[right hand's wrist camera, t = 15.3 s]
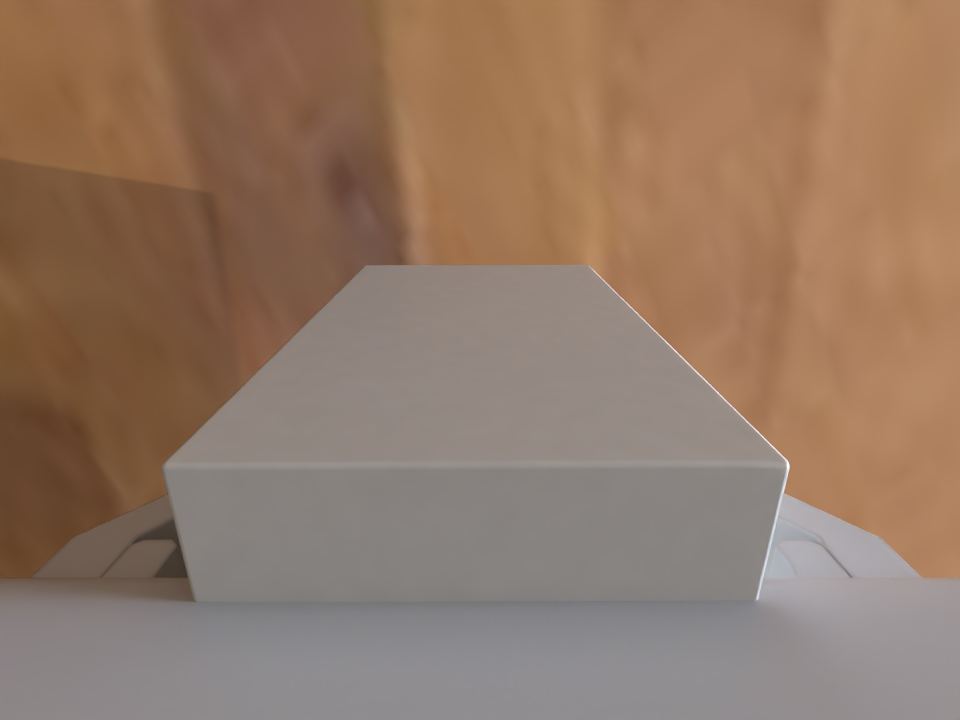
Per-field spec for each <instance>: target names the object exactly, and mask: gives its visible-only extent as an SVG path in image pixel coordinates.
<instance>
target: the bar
mask: <svg viewBox="0 0 960 720" xmlns="http://www.w3.org/2000/svg"><path fill="white" fill-rule="evenodd" d="M788 471H789V463H788V461H787V460H786V459H785V458H784V457H783V456H782V455H781V454H780V453H779V452H778V451H777V450H776V449H775V448H774V447H773V446H772V445H771V444H770V443H769V442H768V441H767V440H766V439H765V438H764V437H763V436H762V435H761V434H760V433H759V432H758V431H757V430H756V429H755V428H754V427H753V426H752V425H751V424H750V423H749V422H748V421H747V420H746V419H745V418H743V417H742V416H741V415H740V414H739V413H738V412H737V411H736V410H735V409H734V408H733V407H732V406H731V405H730V404H729V403H728V402H727V401H726V400H725V399H724V398H723V397H722V396H721V395H720V394H719V393H718V392H717V391H716V390H715V389H714V388H713V387H712V386H711V385H710V384H709V383H708V382H707V381H706V380H705V379H704V378H703V377H702V376H701V375H700V374H699V373H698V372H697V371H696V370H695V369H694V368H693V367H692V366H690V365H689V364H688V363H687V362H686V361H685V360H684V359H683V358H682V357H681V356H680V355H679V354H678V353H677V352H676V351H675V350H674V349H673V348H672V347H671V346H670V345H669V344H668V343H667V342H666V341H665V340H664V339H663V338H662V337H661V336H660V335H659V334H658V333H657V332H656V331H655V330H654V329H653V328H652V327H651V326H650V325H649V324H648V323H647V322H646V321H645V320H644V319H643V318H642V317H641V316H640V315H639V314H638V313H636V312H635V311H634V310H633V309H632V308H631V307H630V306H629V305H628V304H627V303H626V302H625V301H624V300H623V299H622V298H621V297H620V296H619V295H618V294H617V293H616V292H615V291H614V290H613V289H612V288H611V287H610V286H609V285H608V284H607V283H606V282H605V281H604V280H603V279H602V278H601V277H600V276H599V275H598V274H597V273H596V272H595V271H594V270H593V269H592V268H591V267H590V266H588V265H366V266H364V267H363V268H362V269H361V270H360V271H359V272H358V273H357V274H356V275H355V276H354V277H353V278H352V279H351V280H350V281H349V282H348V283H347V284H346V285H345V286H344V287H343V288H342V289H341V290H340V291H339V292H338V293H337V294H336V295H335V296H334V297H333V298H332V299H331V300H330V301H329V302H328V303H327V304H326V305H325V306H324V307H323V308H322V309H320V310H319V311H318V312H317V313H316V314H315V315H314V316H313V317H312V318H311V319H310V320H309V321H308V322H307V323H306V324H305V325H304V326H303V327H302V328H301V329H300V330H299V331H298V332H297V333H296V334H295V335H294V336H293V337H292V338H291V339H290V340H289V341H288V342H287V343H286V344H285V345H284V346H283V347H282V348H281V349H280V350H279V351H278V352H277V353H275V354H274V355H273V356H272V357H271V358H270V359H269V360H268V361H267V362H266V363H265V364H264V365H263V366H262V367H261V368H260V369H259V370H258V371H257V372H256V373H255V374H254V375H253V376H252V377H251V378H250V379H249V380H248V381H247V382H246V383H245V384H244V385H243V386H242V387H241V388H240V389H239V390H238V391H237V392H236V393H235V394H234V395H233V396H232V397H230V398H229V399H228V400H227V401H226V402H225V403H224V404H223V405H222V406H221V407H220V408H219V409H218V410H217V411H216V412H215V413H214V414H213V415H212V416H211V417H210V418H209V419H208V420H207V421H206V422H205V423H204V424H203V425H202V426H201V427H200V428H199V429H198V430H197V431H196V432H195V433H194V434H193V435H192V436H191V437H190V438H189V439H188V440H186V441H185V442H184V443H183V444H182V445H181V446H180V447H179V448H178V449H177V450H176V451H175V452H174V453H173V454H172V455H171V456H170V457H169V458H168V459H167V460H166V461H165V462H164V463H163V465H162V474H163V478H164V482H165V486H166V490H167V494H168V498H169V502H170V506H171V510H172V514H173V518H174V522H175V526H176V530H177V534H178V538H179V542H180V546H181V550H182V554H183V558H184V562H185V567H186V571H187V575H188V579H189V583H190V587H191V591H192V595H193V599H194V601H195V602H454V601H755V600H758V598H759V594H760V589H761V585H762V581H763V577H764V573H765V568H766V564H767V560H768V556H769V552H770V547H771V543H772V539H773V535H774V530H775V526H776V522H777V518H778V514H779V509H780V505H781V501H782V497H783V493H784V488H785V484H786V480H787V476H788Z"/></svg>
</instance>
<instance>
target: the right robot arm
mask: <svg viewBox="0 0 960 720" xmlns="http://www.w3.org/2000/svg"><path fill="white" fill-rule="evenodd" d="M0 720H960V578H922V577H921V576H920V575H919V574H918V573H917V572H916V571H915V570H914V569H913V568H912V567H911V566H909V565H908V564H907V563H906V562H905V561H904V560H903V559H902V558H901V557H900V556H899V555H898V554H897V553H896V552H895V551H894V550H893V549H892V548H891V547H890V546H889V545H888V544H887V543H886V542H885V541H884V540H882V539H881V538H880V537H877V536H875V535H873V534H871V533H869V532H867V531H864V530H862V529H860V528H858V527H856V526H854V525H852V524H849V523H847V522H845V521H843V520H841V519H839V518H836V517H834V516H832V515H830V514H828V513H826V512H824V511H821V510H819V509H817V508H815V507H813V506H811V505H808V504H806V503H804V502H802V501H800V500H798V499H795V498H793V497H791V496H789V495H787V494H785V493H783V497H782V501H781V505H780V509H779V514H778V518H777V522H776V526H775V530H774V535H773V539H772V543H771V547H770V552H769V556H768V560H767V564H766V568H765V573H764V577H763V581H762V585H761V589H760V594H759V598H758V600H755V601H454V602H195V601H194V599H193V595H192V591H191V587H190V583H189V579H188V575H187V571H186V567H185V562H184V558H183V554H182V550H181V546H180V542H179V538H178V534H177V530H176V526H175V522H174V518H173V514H172V510H171V506H170V502H169V498H168V494H167V495H165V496H162V497H160V498H158V499H156V500H154V501H151V502H149V503H147V504H145V505H143V506H141V507H138V508H136V509H134V510H132V511H130V512H127V513H125V514H123V515H121V516H119V517H117V518H114V519H112V520H110V521H108V522H106V523H103V524H101V525H99V526H97V527H95V528H92V529H90V530H88V531H86V532H84V533H82V534H79V535H77V536H75V537H73V538H72V539H71V540H70V541H69V542H68V543H66V544H65V545H64V546H63V547H62V548H61V549H60V550H59V551H58V552H57V553H56V554H55V555H54V556H53V557H52V558H50V559H49V560H48V561H47V562H46V563H45V564H44V565H43V566H42V567H41V568H40V569H39V570H38V571H37V572H36V573H35V574H33V575H32V576H31V577H30V578H0Z"/></svg>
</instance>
